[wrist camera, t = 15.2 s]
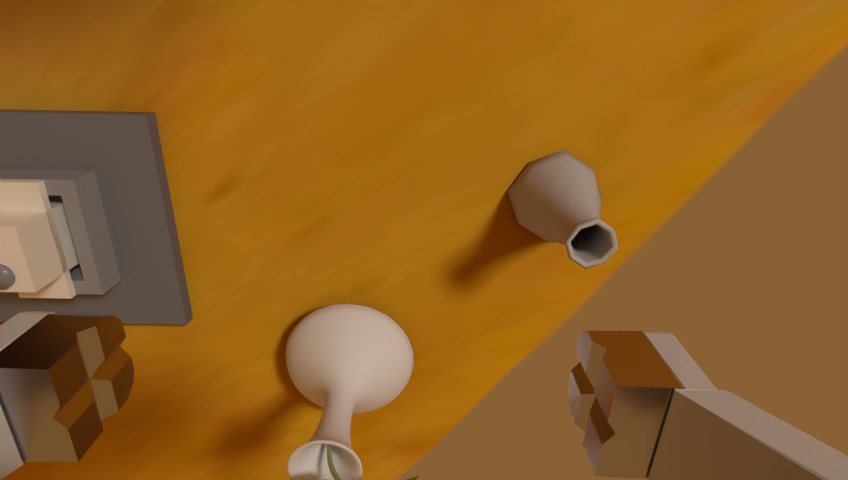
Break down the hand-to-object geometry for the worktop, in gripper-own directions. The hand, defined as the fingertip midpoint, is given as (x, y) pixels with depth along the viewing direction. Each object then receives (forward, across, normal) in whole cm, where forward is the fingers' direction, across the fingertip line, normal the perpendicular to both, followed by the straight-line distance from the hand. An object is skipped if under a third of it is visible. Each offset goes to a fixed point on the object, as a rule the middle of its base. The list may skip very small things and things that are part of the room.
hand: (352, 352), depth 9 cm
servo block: (+30, +28, +11) cm, 42 cm away
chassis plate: (+31, +28, +11) cm, 43 cm away
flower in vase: (+31, +4, +22) cm, 38 cm away
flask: (+31, -12, +7) cm, 34 cm away
